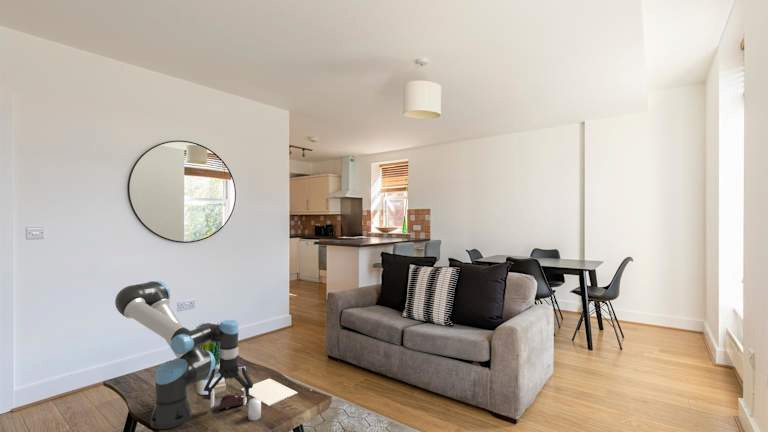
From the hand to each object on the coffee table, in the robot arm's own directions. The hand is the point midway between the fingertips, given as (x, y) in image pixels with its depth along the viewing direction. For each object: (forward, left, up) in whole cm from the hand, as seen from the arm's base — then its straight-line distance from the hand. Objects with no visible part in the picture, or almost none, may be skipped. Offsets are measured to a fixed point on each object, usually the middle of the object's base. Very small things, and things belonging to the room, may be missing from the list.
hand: (228, 404), depth 166 cm
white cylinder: (-8, -12, -2) cm, 15 cm away
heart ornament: (-1, -1, -3) cm, 3 cm away
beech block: (+16, +8, -2) cm, 18 cm away
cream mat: (+15, -15, -2) cm, 21 cm away
